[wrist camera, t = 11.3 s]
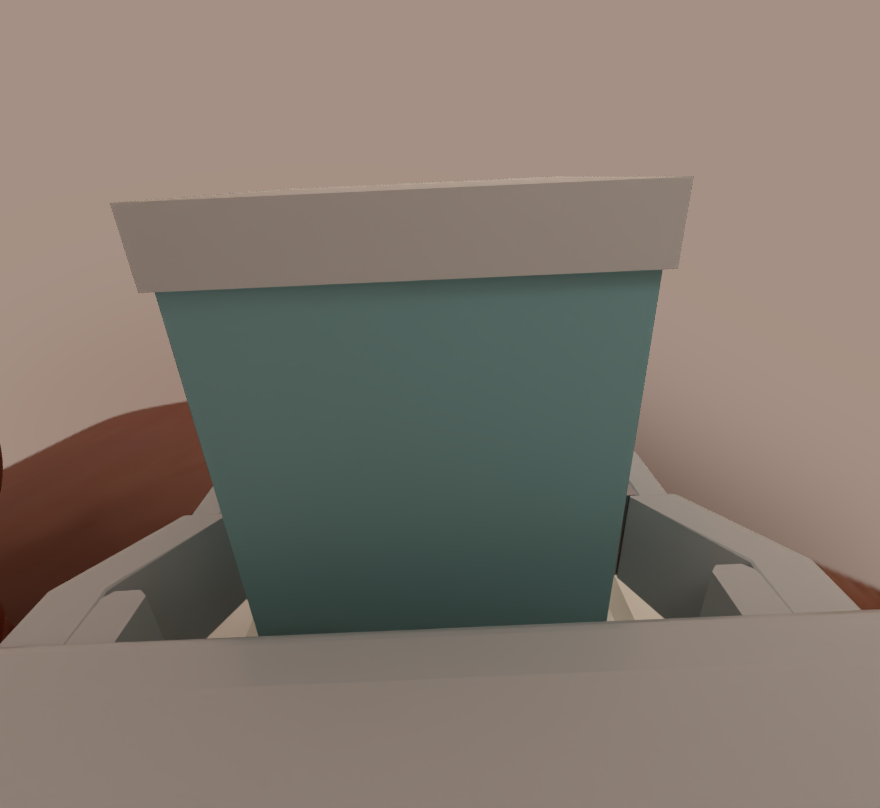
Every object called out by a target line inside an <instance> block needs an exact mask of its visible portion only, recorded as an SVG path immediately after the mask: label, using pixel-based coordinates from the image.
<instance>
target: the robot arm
mask: <svg viewBox="0 0 880 808" xmlns="http://www.w3.org/2000/svg"><path fill="white" fill-rule="evenodd" d="M614 575H617V578H618V579H619V580H620V581H622V582H623V583H624V584H625V585H626V586H627V587H628V588H630V589H631V590H632V591H633V592H634V593H635V594H637V595H638V596H639V597H640V598H641V599H642V600H643V601H645V602H646V603H647V604H648V605H649V606H650V607H651V608H653V609H654V610H655V611H656V612H657V613H658V614H660V615H661V616H662V617H663V618H664V619H647V620H623V621H600V622H576V623H553V624H529V625H506V626H483V627H461V628H439V629H417V630H394V631H371V632H348V633H325V634H301V635H278V636H255V637H231V638H208V639H206V638H207V637H208V636H209V635H210V634H211V633H212V632H213V631H215V630H216V629H217V628H218V627H219V626H220V625H221V624H222V623H223V622H224V621H225V620H226V619H227V618H228V617H229V616H230V615H231V614H232V613H233V612H234V611H235V610H236V609H237V608H238V607H239V606H240V605H241V604H242V603H243V602H244V601H245V600H246V599H247V597H246V593H245V590H244V587H243V584H242V580H241V577H240V574H239V570H238V567H237V564H236V560H235V557H234V554H233V550H232V547H231V544H230V540H229V537H228V534H227V530H226V527H225V524H224V520H223V517H222V514H221V510H220V507H219V504H218V501H217V497H216V494H215V491H214V487H212V488H211V489H210V491H209V492H208V493H207V495H206V496H205V498H204V499H203V500H202V502H201V503H200V505H199V506H198V507H197V509H196V510H195V512H194V513H193V514H192V515H186V516H182V517H181V518H179V519H177V520H175V521H173V522H172V523H170V524H168V525H166V526H165V527H163V528H161V529H159V530H157V531H156V532H154V533H152V534H150V535H149V536H147V537H145V538H143V539H141V540H140V541H138V542H136V543H134V544H133V545H131V546H129V547H127V548H125V549H124V550H122V551H120V552H118V553H116V554H115V555H113V556H111V557H109V558H108V559H106V560H104V561H102V562H100V563H99V564H97V565H95V566H93V567H92V568H90V569H88V570H86V571H84V572H83V573H81V574H79V575H77V576H76V577H74V578H72V579H70V580H68V581H67V582H65V583H63V584H61V585H60V586H58V587H56V588H54V589H52V590H51V591H49V592H48V593H47V594H46V595H45V596H44V597H43V598H42V599H41V600H40V601H39V602H38V604H37V605H36V606H35V607H34V608H33V609H32V610H31V611H30V612H29V613H28V614H27V615H26V616H25V618H24V619H23V620H22V621H21V622H20V623H19V624H18V625H17V626H16V627H15V628H14V629H13V630H12V632H11V633H10V634H9V635H8V636H7V637H6V638H5V639H4V640H3V641H2V642H1V643H0V808H880V609H876V610H861V609H860V608H859V607H858V606H857V605H856V604H855V603H854V602H853V601H852V600H851V599H850V598H849V597H848V596H847V595H846V594H845V593H844V592H843V591H842V590H841V589H840V588H839V587H838V586H837V585H836V584H835V583H834V582H833V581H832V580H831V579H830V578H829V577H828V576H827V575H826V574H825V573H824V572H823V571H822V570H821V569H820V568H819V567H818V566H817V565H816V564H815V563H814V562H813V561H812V560H811V559H810V558H807V557H805V556H803V555H801V554H799V553H797V552H795V551H793V550H791V549H789V548H787V547H785V546H783V545H780V544H778V543H776V542H774V541H772V540H770V539H768V538H766V537H764V536H762V535H759V534H758V533H756V532H753V531H751V530H749V529H747V528H745V527H743V526H741V525H739V524H737V523H735V522H732V521H731V520H728V519H726V518H724V517H722V516H720V515H718V514H716V513H714V512H712V511H710V510H708V509H705V508H704V507H702V506H699V505H697V504H695V503H693V502H691V501H689V500H687V499H685V498H683V497H681V496H679V495H677V494H667V493H666V492H665V490H664V489H663V488H662V486H661V485H660V484H659V482H658V481H657V480H656V478H655V477H654V476H653V474H652V473H651V472H650V471H649V469H648V468H647V466H646V465H645V464H644V463H643V461H642V460H641V459H640V457H639V456H638V455H637V453H636V452H635V451H634V452H633V458H632V465H631V471H630V477H629V483H628V490H627V496H626V502H625V509H624V515H623V521H622V528H621V534H620V540H619V546H618V553H617V559H616V565H615V572H614Z"/></svg>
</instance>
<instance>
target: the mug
mask: <svg viewBox="0 0 880 808" xmlns="http://www.w3.org/2000/svg"><path fill="white" fill-rule="evenodd" d="M2 477H3V462H2V452H1V446H0V491H1V486H2ZM13 629H14V628H13V626H12V624H11V623H10V622H9V621H8V620H7V619H6V616H5V611H4V608H3V606H2V604H1V602H0V643H1V642H2V641H3V640H4V639H5V638H6V637H7V636H8V635H9V634H10V633H11V632H12V630H13Z"/></svg>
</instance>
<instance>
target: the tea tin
mask: <svg viewBox="0 0 880 808" xmlns="http://www.w3.org/2000/svg"><path fill="white" fill-rule="evenodd" d="M692 183H693V177H692V176H687V177H686V176H684V177H683V176H682V177H544V178H543V177H542V178H519V179H497V180H478V181H476V180H475V181H453V182H433V183H411V184H388V185H366V186H344V187H322V188H300V189H279V190H267V191H255V192H242V193H229V194H216V195H204V196H192V197H180V198H167V199H155V200H142V201H130V202H118V203H110V205H111V208H112V211H113V215H114V218H115V220H116V224H117V227H118V230H119V233H120V236H121V240H122V243H123V246H124V249H125V252H126V256H127V259H128V262H129V265H130V268H131V271H132V275H133V278H134V281H135V284H136V287H137V290H138V293H149V292H155V295H156V298H157V301H158V305H159V308H160V311H161V315H162V318H163V321H164V324H165V328H166V331H167V334H168V338H169V341H170V345H171V348H172V351H173V355H174V358H175V361H176V364H177V368H178V371H179V374H180V377H181V381H182V384H183V388H184V391H185V394H186V398H187V401H188V404H189V408H190V411H191V414H192V418H193V421H194V424H195V428H196V431H197V434H198V437H199V441H200V444H201V447H202V451H203V454H204V457H205V461H206V464H207V467H208V471H209V474H210V477H211V481H212V484H213V487H214V491H215V494H216V497H217V501H218V504H219V507H220V510H221V514H222V517H223V520H224V524H225V527H226V530H227V534H228V537H229V540H230V544H231V547H232V550H233V554H234V557H235V560H236V564H237V567H238V570H239V574H240V577H241V580H242V584H243V587H244V590H245V593H246V597H247V600H248V603H249V607H250V610H251V613H252V617H253V620H254V623H255V627H256V630H257V633H258V636H278V635H301V634H325V633H348V632H371V631H394V630H417V629H439V628H461V627H483V626H506V625H529V624H553V623H576V622H600V621H607V616H608V609H609V603H610V597H611V591H612V584H613V578H614V572H615V565H616V559H617V553H618V546H619V540H620V534H621V528H622V521H623V515H624V509H625V502H626V496H627V490H628V483H629V477H630V471H631V465H632V458H633V452H634V446H635V439H636V433H637V426H638V420H639V414H640V408H641V401H642V395H643V389H644V383H645V376H646V370H647V364H648V357H649V351H650V345H651V339H652V332H653V326H654V320H655V313H656V307H657V301H658V294H659V288H660V282H661V275H662V269H677V268H678V265H679V258H680V253H681V247H682V241H683V236H684V229H685V224H686V218H687V212H688V206H689V201H690V195H691V189H692Z"/></svg>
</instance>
